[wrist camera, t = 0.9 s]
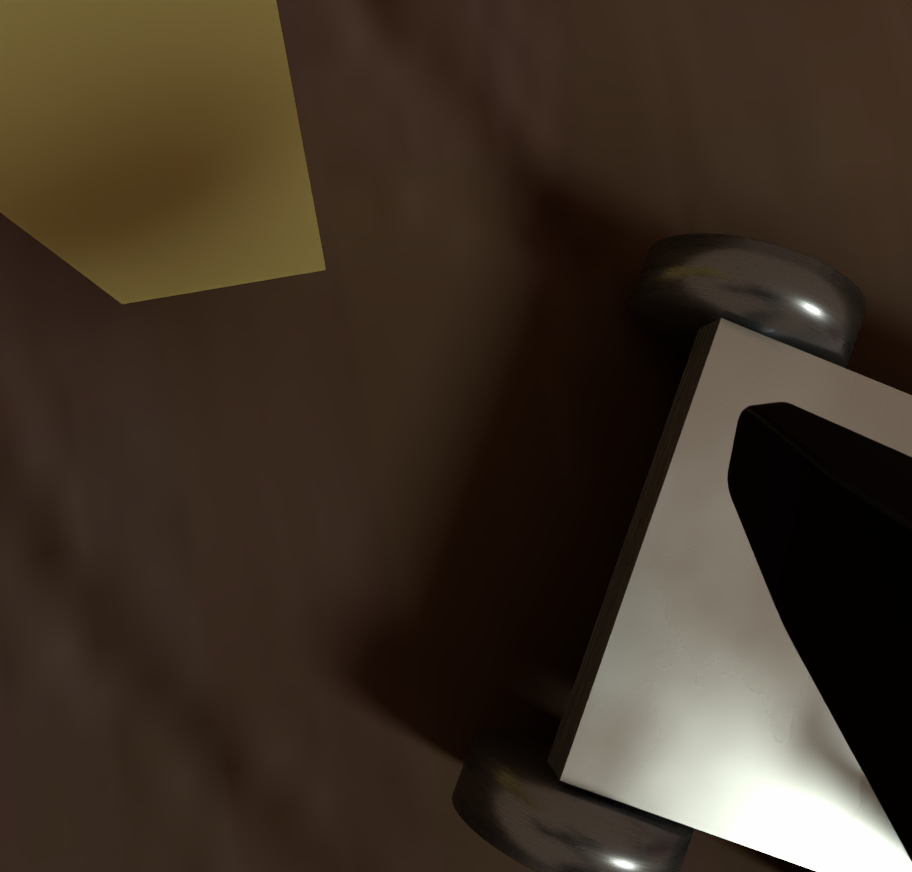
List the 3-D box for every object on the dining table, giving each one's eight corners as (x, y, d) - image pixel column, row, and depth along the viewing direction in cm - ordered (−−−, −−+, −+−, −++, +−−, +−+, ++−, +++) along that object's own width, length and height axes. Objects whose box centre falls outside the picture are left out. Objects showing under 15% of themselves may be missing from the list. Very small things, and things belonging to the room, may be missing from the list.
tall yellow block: (325, 269, 21) (255, -110, 8) (122, 304, 20) (-337, -43, 7) (288, 77, 21) (156, -620, 8) (85, 106, 21) (-429, -593, 7)
